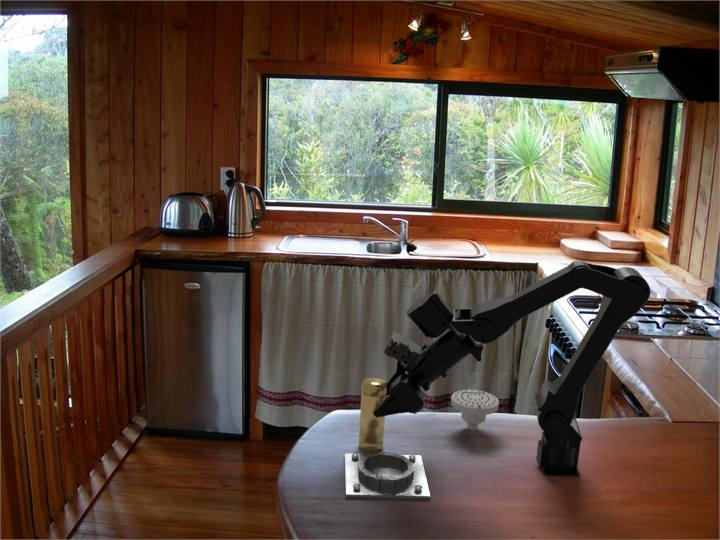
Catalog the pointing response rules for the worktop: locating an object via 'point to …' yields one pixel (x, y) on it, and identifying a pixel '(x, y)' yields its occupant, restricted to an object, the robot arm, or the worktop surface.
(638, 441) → the worktop surface
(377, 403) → the brass cylinder
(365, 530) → the worktop surface
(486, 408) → the showerhead
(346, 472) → the floor flange
